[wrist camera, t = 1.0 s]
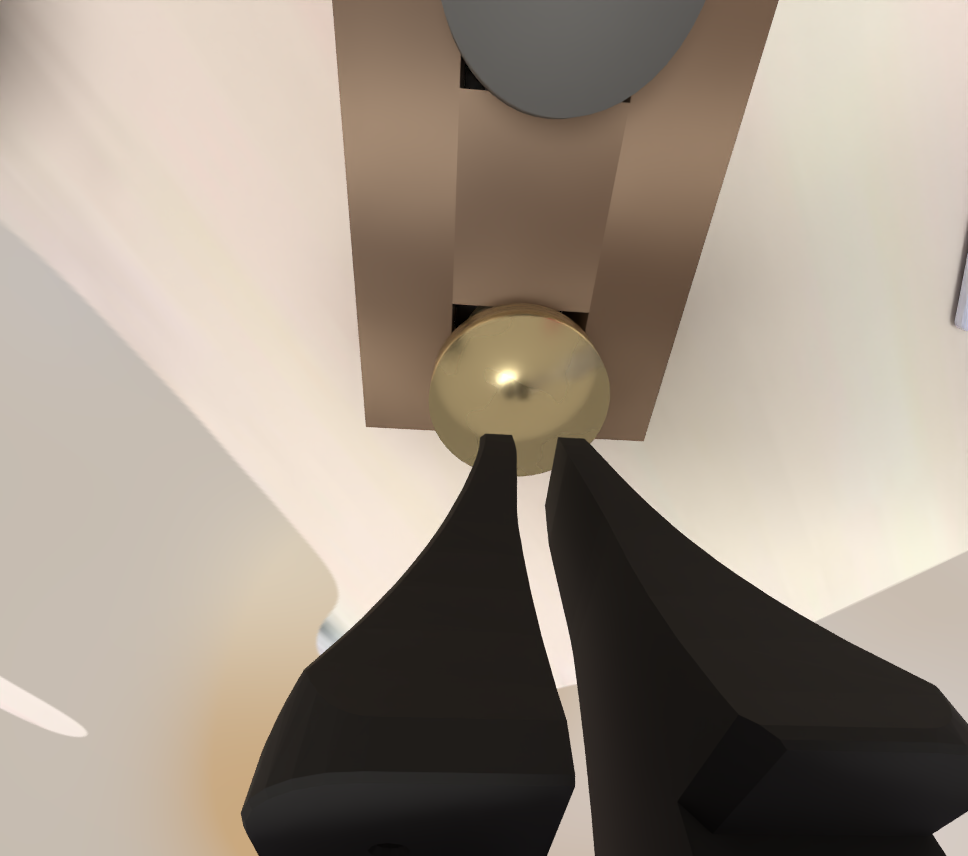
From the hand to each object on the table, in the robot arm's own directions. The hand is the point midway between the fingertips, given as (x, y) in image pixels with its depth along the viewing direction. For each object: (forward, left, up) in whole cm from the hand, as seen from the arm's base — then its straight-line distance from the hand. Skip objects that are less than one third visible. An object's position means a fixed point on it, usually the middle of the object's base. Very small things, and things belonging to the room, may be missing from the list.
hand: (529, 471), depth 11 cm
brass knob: (0, 0, -8) cm, 8 cm away
